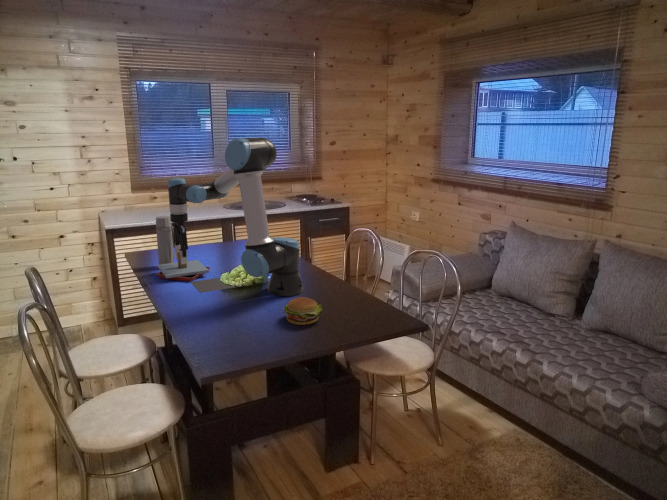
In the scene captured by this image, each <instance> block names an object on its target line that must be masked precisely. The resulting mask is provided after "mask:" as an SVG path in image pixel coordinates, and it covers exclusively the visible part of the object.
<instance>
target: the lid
mask: <svg viewBox="0 0 667 500" xmlns="http://www.w3.org/2000/svg"><path fill="white" fill-rule="evenodd" d="M177 258H178V259H177V262H174V263H168V264H160V265H159V264H157V265H156V266H157V268H158V270H159V272H162V274H163V275H164V276H165V277H166V278H172V277H187V276H193V275H194V276H195V275H198V274H201V273H205V274H206V273H207V274H208V273H209V272H210V269H209V270H208V269H207V268H206V267H207V266H205V265H204V264H203V263H201V261H200V260H198V259H194V260H187V264H181V254H180V252H178V253H177Z"/></svg>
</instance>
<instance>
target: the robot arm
mask: <svg viewBox="0 0 667 500" xmlns="http://www.w3.org/2000/svg"><path fill="white" fill-rule="evenodd" d="M277 153H278V152H277V148H276V145H275V144H274V142H273V141H271V140H270V139H268V138H265V137H240V138H234V139H232V140H230V141H229V143H227V146H226V148H225V151H224V160H225V164H226V165H227V166H228V168H229V169H228V170H226V171H224V172H223V173H222V174H221V175H220V176H218V177H217V178H216V179H214V180H213V181H211V182H205V183H197V184H187V182H186V179H185V178H183V177H180V178H179V177H177V178H169V179H168V180H167V183H168V184H167V189H168V190H167V191H168V202H169V204H168V205H169V213H170V214H169V216H170V220H171V223H172V224H173V225H172V226H173V244H174V246H175V249H174V250H175V259H176V260H178V258H177V253H178V252H180V254H181V264H187V261H188V249H189V245H188V235H187V227H186V226H185V225H184V223H187V222H188V221H189V218H188V217H189V216H188V207H189V205H188V204H187V203H193V204H202V203H203V202H204V201H211V200H212V201H213V200H217V199H218V200H219V199H223V198H224V199H225V198H226V197H227V196H228V194H229V192H230V191H231V190H233V189H234V188H235V187H237V186H238V185H239V189H240V196H241V202H242V208H243V215H244V221H245V227H246V228H245V229H246V233H247V241H246V242H245V243H244V246H245V250H244V251H243V252H242V254H241V256H240V257H241V258H240V262H241V265H242V268H243V269H244V271H245V272H246V273H247V275H249V276H250V277H253V278H261V277H266V276H267V275H270V278H269V281H268V284H267V292H268V293H269V294H271V295H273V296H275V297H276V296H277V297H294V296H297V295H300V294H302V293H303V292H304V284H303V282H302V278H301V275H300V243H299V241H298V240H297V239H295V238H292V237H284V236H281V237H277V236H274V237H271V236H270V230H269V223H268V215H267V210H266V204H265V203H266V202H265V195H264V189H263V182H262V175H263V173H264V172H265V170H266V169H268V168H270V167H271V166H272V165H273V164H274V163H275V162H276V160H277V156H278V154H277Z"/></svg>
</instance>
